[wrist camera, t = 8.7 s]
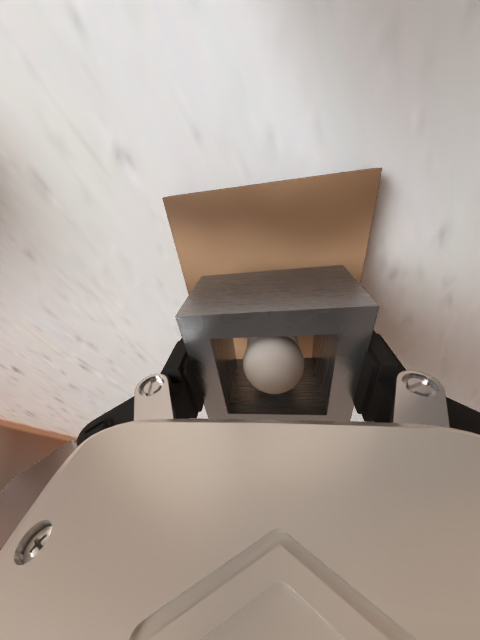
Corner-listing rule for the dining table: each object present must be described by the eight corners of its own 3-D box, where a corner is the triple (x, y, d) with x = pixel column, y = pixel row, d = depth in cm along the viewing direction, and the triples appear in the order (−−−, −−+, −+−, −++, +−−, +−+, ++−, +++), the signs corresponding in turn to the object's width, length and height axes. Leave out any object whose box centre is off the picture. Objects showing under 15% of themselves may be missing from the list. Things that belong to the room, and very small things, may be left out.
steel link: (201, 275, 11) (175, 316, 8) (342, 264, 10) (379, 305, 7) (223, 371, 15) (211, 425, 12) (328, 369, 14) (348, 429, 11)
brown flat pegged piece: (172, 195, 13) (65, 218, 6) (369, 168, 11) (532, 156, 4) (214, 365, 21) (188, 462, 14) (337, 362, 19) (379, 471, 12)
